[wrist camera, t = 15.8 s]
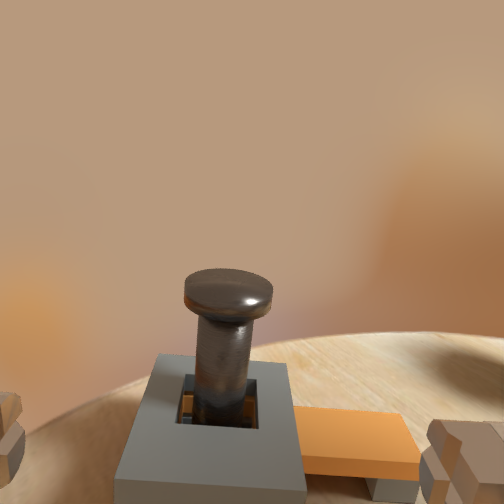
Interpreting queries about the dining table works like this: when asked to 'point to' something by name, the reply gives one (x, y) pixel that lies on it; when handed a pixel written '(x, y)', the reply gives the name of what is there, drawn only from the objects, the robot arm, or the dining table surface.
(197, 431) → the bracket
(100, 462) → the dining table surface
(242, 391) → the pin
